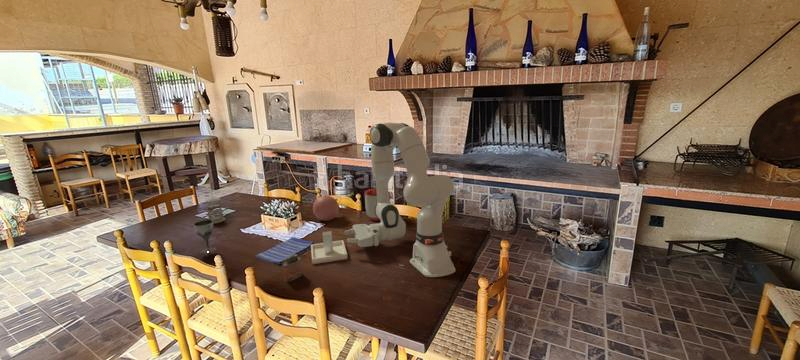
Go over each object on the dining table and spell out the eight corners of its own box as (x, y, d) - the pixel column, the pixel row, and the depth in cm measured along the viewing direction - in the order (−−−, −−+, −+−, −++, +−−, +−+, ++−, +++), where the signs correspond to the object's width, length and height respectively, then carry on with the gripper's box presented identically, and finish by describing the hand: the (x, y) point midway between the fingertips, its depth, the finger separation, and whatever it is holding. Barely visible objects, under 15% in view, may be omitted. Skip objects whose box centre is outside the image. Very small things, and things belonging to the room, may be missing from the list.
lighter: (299, 272, 146) (297, 251, 144) (304, 274, 144) (301, 253, 142) (283, 280, 140) (280, 258, 138) (287, 283, 138) (284, 261, 136)
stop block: (333, 253, 161) (331, 234, 158) (324, 254, 160) (323, 235, 157) (332, 249, 164) (331, 231, 162) (324, 251, 163) (322, 232, 161)
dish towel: (316, 246, 172) (315, 241, 171) (279, 266, 152) (278, 261, 152) (292, 239, 180) (292, 234, 180) (254, 258, 161) (253, 253, 160)
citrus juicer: (397, 219, 203) (396, 188, 198) (369, 224, 197) (368, 191, 192) (388, 211, 217) (387, 181, 212) (362, 215, 211) (360, 185, 206)
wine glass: (197, 255, 165) (191, 226, 161) (202, 248, 172) (196, 220, 168) (215, 252, 167) (210, 224, 163) (219, 245, 174) (214, 218, 170)
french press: (209, 218, 213) (202, 180, 206) (229, 216, 216) (223, 179, 210) (205, 224, 204) (198, 184, 197) (226, 221, 207) (220, 182, 201)
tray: (347, 258, 157) (347, 254, 156) (312, 264, 153) (311, 259, 152) (343, 244, 172) (343, 240, 171) (311, 249, 168) (310, 244, 167)
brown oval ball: (348, 215, 213) (347, 191, 209) (329, 226, 196) (326, 201, 192) (329, 211, 220) (327, 189, 216) (308, 222, 203) (306, 198, 199)
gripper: (369, 219, 175) (342, 223, 171) (378, 234, 156) (348, 239, 152) (370, 230, 176) (343, 234, 173) (378, 247, 157) (349, 251, 154)
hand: (346, 236), depth 162 cm, fingers open, 8 cm apart
